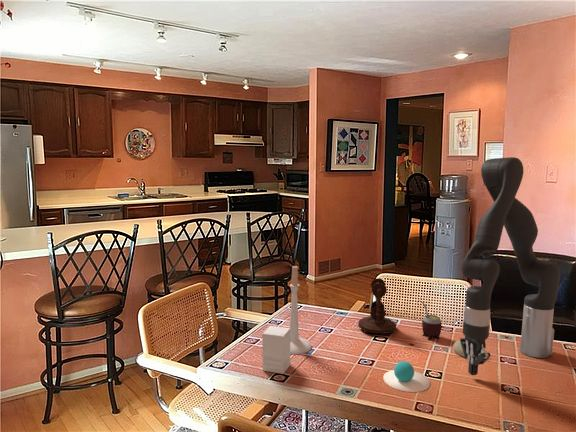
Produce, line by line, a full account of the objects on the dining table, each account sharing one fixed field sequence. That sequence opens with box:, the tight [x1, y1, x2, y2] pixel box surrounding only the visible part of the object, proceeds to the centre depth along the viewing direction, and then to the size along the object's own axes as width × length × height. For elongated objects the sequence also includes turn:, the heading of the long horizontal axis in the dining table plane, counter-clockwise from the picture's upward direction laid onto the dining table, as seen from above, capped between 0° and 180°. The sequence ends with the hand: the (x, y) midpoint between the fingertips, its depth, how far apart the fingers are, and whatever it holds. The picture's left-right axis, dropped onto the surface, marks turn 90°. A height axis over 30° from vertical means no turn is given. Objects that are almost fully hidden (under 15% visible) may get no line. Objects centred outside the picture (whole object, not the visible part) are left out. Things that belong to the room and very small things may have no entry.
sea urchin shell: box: [452, 339, 466, 358], centre depth 163 cm, size 9×8×8 cm
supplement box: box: [262, 325, 291, 375], centre depth 150 cm, size 7×7×13 cm
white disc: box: [383, 369, 431, 393], centre depth 143 cm, size 14×14×1 cm
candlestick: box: [289, 265, 312, 355], centre depth 165 cm, size 13×13×30 cm
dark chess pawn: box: [357, 277, 397, 336], centre depth 183 cm, size 15×15×20 cm
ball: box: [393, 360, 415, 382], centre depth 143 cm, size 6×6×6 cm
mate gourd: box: [419, 300, 443, 341], centre depth 176 cm, size 8×8×15 cm
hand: (472, 373), depth 145 cm, fingers closed
